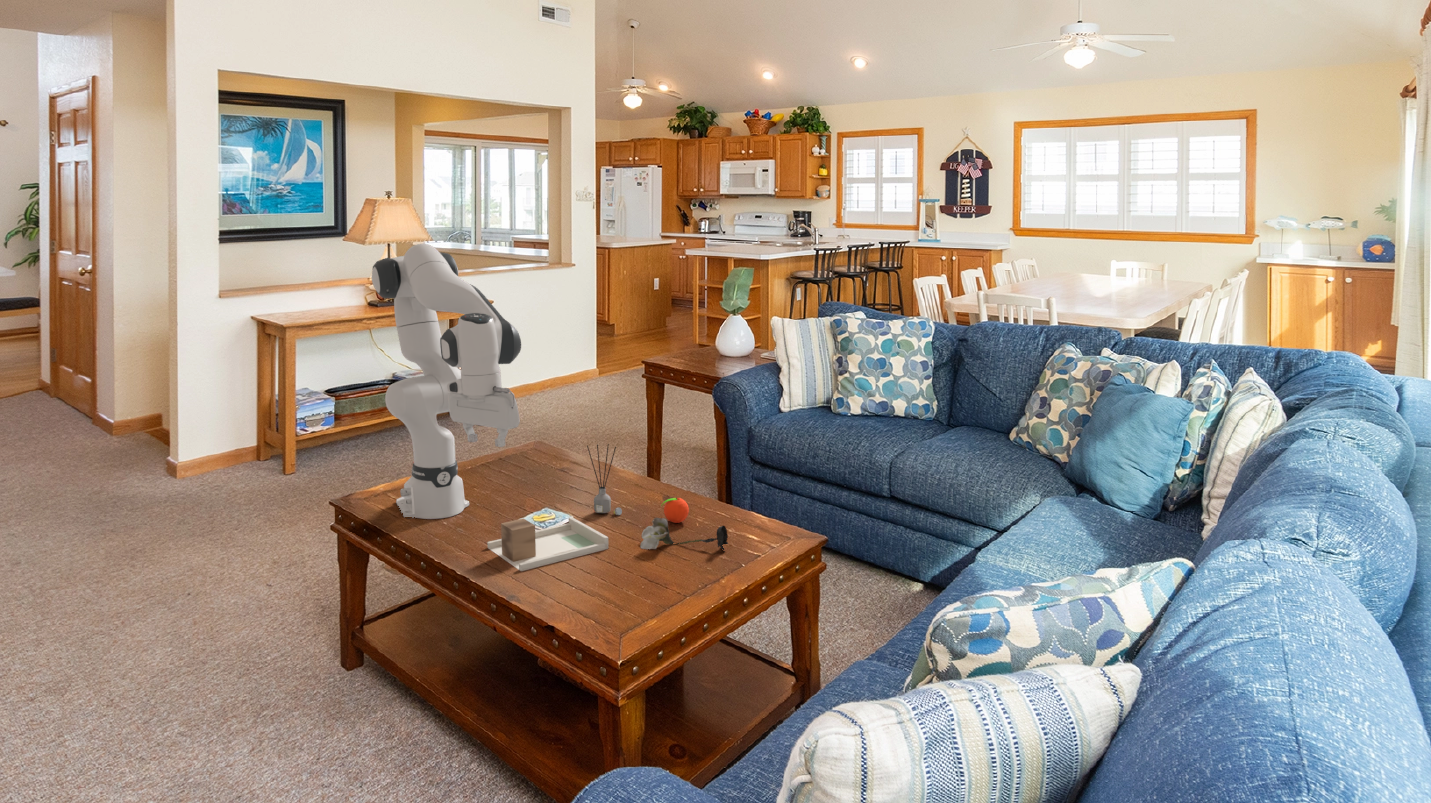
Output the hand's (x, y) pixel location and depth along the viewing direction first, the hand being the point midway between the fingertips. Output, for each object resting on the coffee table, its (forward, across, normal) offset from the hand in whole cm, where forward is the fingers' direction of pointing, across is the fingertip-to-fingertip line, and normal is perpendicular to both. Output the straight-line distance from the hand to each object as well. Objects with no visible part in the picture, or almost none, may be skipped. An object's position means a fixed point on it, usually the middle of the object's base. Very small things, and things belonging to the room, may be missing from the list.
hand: (486, 444), depth 211 cm
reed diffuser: (+31, +8, -47) cm, 57 cm away
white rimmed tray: (+31, -2, -15) cm, 35 cm away
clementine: (+32, -13, -53) cm, 63 cm away
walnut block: (+30, 0, -8) cm, 31 cm away
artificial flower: (+33, -26, -39) cm, 57 cm away
